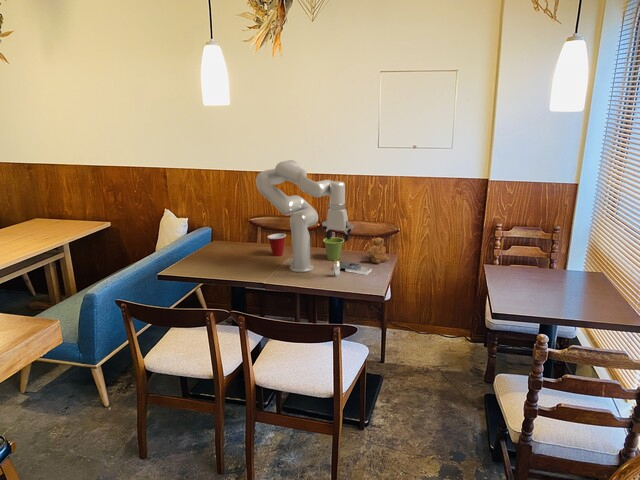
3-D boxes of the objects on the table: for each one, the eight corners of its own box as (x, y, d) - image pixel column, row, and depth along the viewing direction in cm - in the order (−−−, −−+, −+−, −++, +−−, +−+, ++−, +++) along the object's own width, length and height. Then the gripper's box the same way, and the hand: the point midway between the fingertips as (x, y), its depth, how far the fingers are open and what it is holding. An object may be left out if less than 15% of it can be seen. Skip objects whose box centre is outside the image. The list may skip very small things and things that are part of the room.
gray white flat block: (335, 269, 258) (335, 264, 257) (340, 265, 264) (340, 260, 263) (366, 274, 250) (366, 269, 249) (371, 270, 256) (371, 265, 255)
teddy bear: (390, 259, 275) (391, 236, 272) (381, 266, 263) (382, 243, 260) (374, 256, 280) (374, 234, 276) (364, 263, 268) (364, 240, 264)
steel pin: (332, 276, 248) (332, 261, 246) (335, 274, 251) (335, 260, 249) (338, 277, 247) (338, 262, 245) (340, 275, 249) (340, 260, 247)
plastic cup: (270, 251, 290) (269, 232, 287) (288, 252, 289) (287, 233, 286) (266, 257, 280) (265, 237, 277) (284, 258, 278) (283, 237, 275)
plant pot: (319, 258, 277) (318, 239, 274) (334, 254, 284) (334, 236, 281) (333, 263, 268) (333, 244, 265) (348, 259, 276) (348, 240, 273)
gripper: (318, 206, 240) (319, 240, 244) (350, 209, 232) (350, 244, 236) (325, 204, 246) (325, 236, 251) (356, 206, 238) (356, 240, 243)
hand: (337, 240), depth 243 cm, fingers open, 9 cm apart
